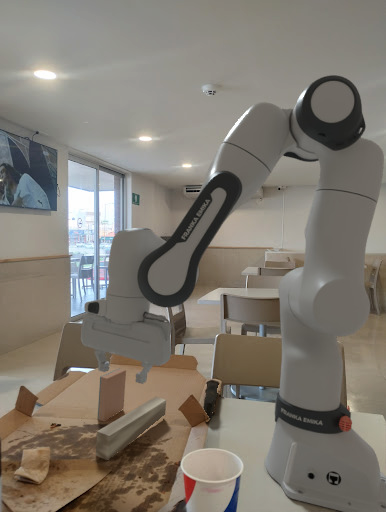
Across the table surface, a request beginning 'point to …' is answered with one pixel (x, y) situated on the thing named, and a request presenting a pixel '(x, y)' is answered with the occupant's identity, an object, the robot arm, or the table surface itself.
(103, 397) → the tile
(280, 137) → the robot arm
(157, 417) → the gray bar
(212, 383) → the hand tool
